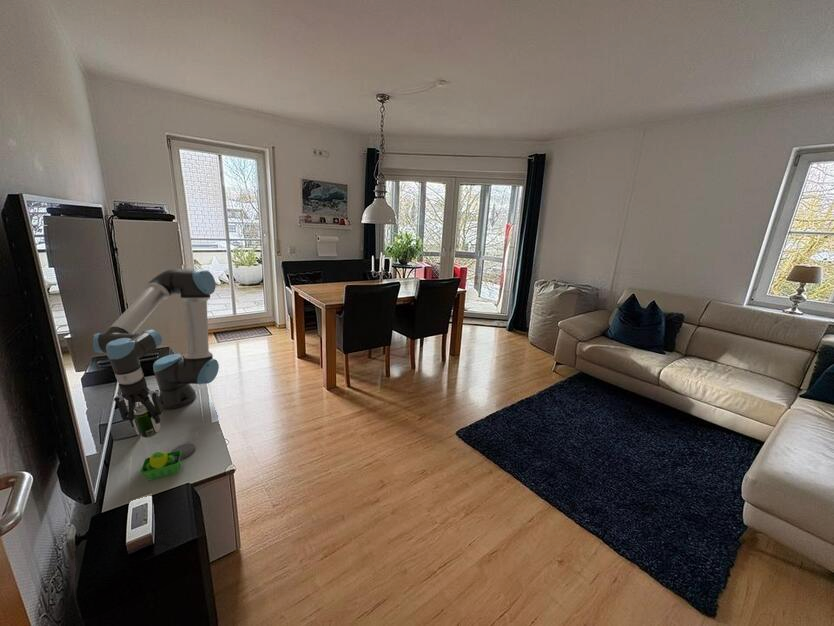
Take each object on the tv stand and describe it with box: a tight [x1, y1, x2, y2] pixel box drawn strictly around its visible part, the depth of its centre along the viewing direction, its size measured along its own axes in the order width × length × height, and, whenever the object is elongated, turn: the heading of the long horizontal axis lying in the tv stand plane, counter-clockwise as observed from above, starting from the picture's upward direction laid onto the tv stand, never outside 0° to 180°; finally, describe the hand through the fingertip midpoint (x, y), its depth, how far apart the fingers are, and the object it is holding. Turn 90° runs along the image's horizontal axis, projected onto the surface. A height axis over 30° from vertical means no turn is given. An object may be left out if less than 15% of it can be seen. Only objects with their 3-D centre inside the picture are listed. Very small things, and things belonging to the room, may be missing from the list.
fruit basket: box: [139, 450, 181, 481], centre depth 126 cm, size 11×9×11 cm
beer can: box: [133, 404, 158, 439], centre depth 133 cm, size 5×5×12 cm
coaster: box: [171, 442, 196, 461], centre depth 137 cm, size 8×8×1 cm
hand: (149, 430), depth 135 cm, fingers closed on beer can, 5 cm apart
